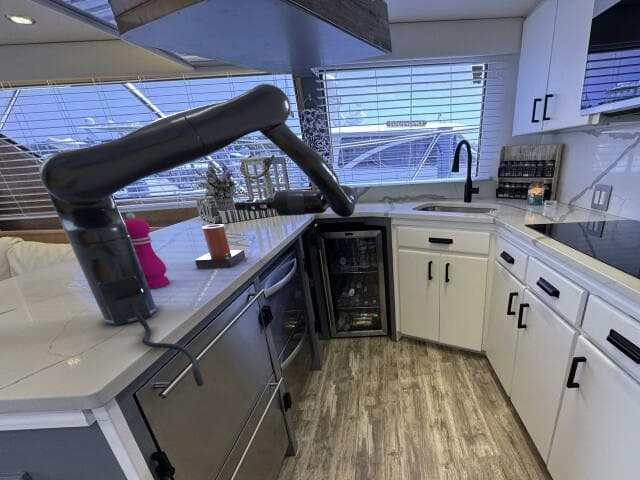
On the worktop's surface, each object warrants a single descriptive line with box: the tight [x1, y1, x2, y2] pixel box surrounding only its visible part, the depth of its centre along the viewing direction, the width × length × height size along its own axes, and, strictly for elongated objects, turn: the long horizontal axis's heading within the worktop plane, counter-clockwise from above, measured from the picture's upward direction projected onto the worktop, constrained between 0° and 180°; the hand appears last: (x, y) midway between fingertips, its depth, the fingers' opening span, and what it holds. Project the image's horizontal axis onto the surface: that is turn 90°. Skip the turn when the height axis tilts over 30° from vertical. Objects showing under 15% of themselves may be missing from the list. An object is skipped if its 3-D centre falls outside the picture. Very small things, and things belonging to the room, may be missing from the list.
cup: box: [201, 224, 231, 257], centre depth 106 cm, size 6×6×10 cm
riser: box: [194, 249, 246, 270], centre depth 108 cm, size 11×11×3 cm
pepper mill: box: [123, 212, 170, 290], centre depth 87 cm, size 7×7×20 cm
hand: (241, 204), depth 101 cm, fingers open, 8 cm apart
